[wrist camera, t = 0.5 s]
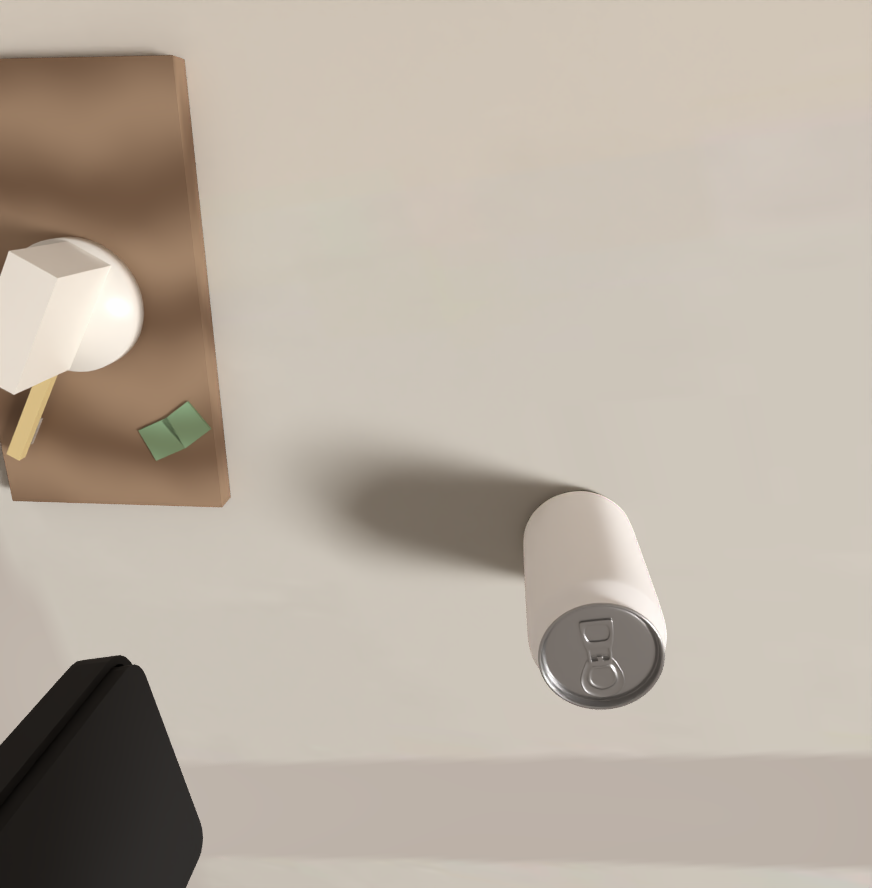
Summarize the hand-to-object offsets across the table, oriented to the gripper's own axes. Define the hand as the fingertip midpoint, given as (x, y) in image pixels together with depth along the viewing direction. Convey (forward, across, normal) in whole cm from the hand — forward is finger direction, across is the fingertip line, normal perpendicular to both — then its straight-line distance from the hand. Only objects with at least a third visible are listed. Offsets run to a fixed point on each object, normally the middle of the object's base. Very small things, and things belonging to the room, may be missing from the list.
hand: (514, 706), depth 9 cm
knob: (+32, +25, -2) cm, 41 cm away
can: (+34, -2, +15) cm, 37 cm away
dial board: (+34, +22, -4) cm, 41 cm away
